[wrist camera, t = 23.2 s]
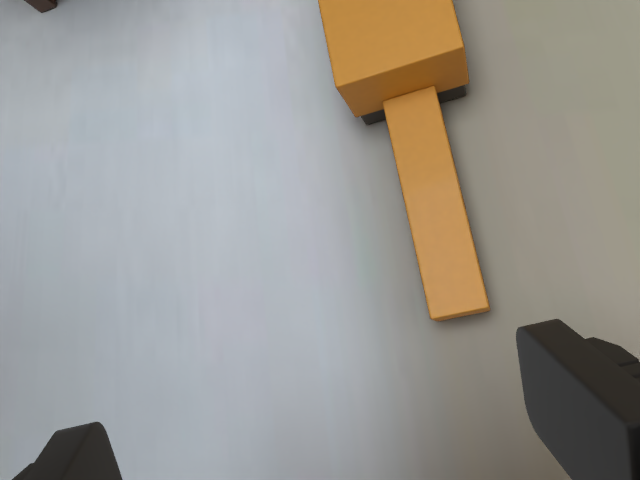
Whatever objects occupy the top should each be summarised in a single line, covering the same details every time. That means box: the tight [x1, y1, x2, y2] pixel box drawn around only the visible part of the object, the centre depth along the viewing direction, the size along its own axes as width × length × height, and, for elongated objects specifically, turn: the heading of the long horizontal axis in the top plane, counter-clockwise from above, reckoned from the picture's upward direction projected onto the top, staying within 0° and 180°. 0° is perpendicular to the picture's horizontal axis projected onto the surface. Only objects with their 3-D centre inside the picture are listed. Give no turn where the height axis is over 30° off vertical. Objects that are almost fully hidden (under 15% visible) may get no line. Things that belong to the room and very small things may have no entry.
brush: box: [318, 0, 490, 321], centre depth 26 cm, size 5×18×5 cm, turn 10°
